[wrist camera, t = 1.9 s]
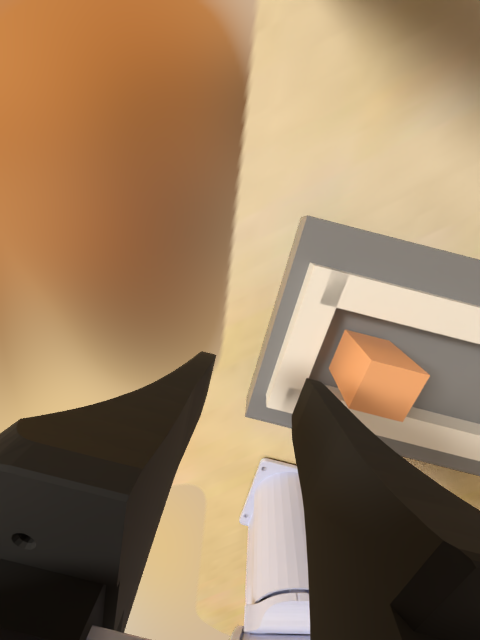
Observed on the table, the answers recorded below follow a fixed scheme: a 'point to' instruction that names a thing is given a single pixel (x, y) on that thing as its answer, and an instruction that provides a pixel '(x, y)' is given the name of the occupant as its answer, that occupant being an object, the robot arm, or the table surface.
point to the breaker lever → (376, 376)
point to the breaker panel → (378, 334)
